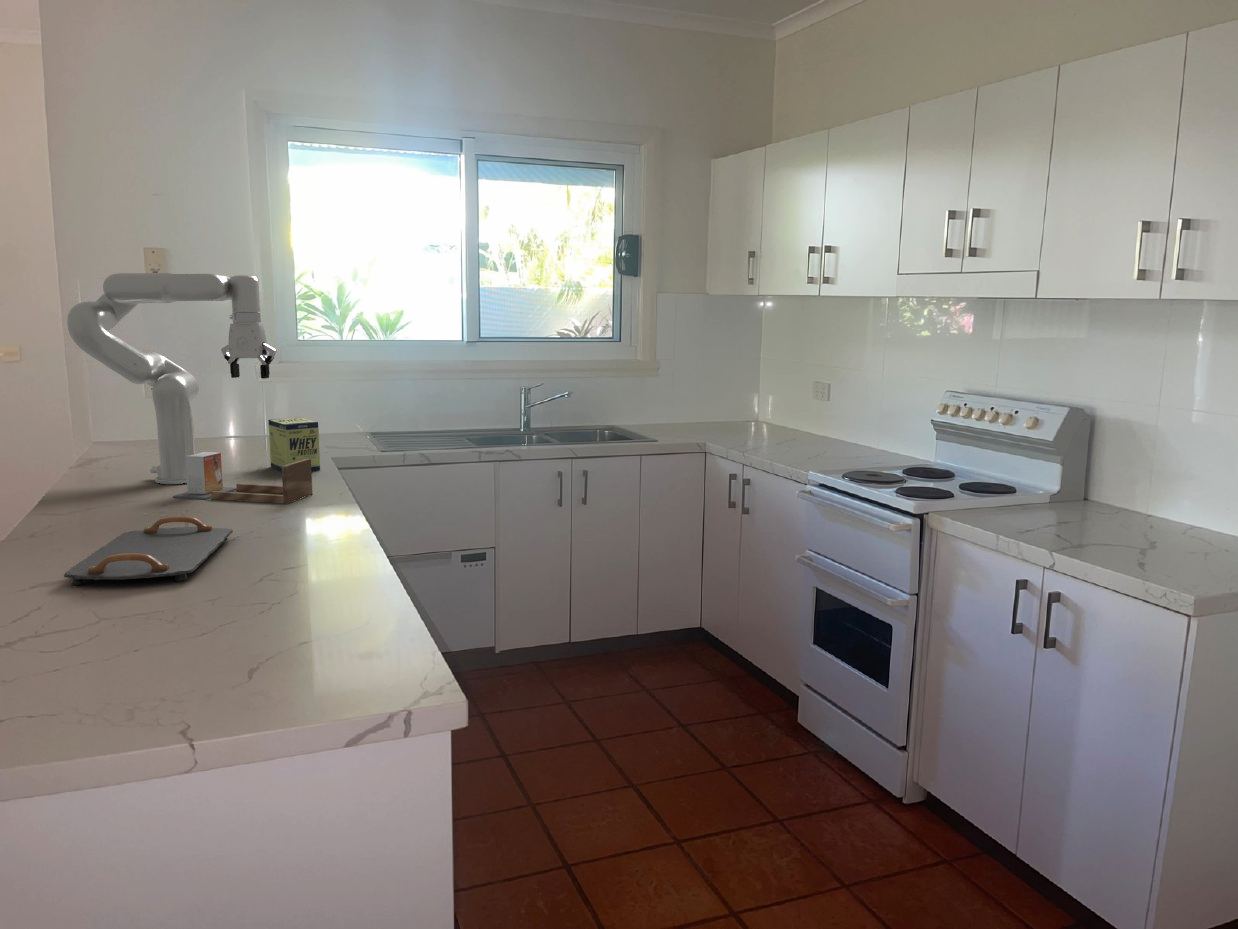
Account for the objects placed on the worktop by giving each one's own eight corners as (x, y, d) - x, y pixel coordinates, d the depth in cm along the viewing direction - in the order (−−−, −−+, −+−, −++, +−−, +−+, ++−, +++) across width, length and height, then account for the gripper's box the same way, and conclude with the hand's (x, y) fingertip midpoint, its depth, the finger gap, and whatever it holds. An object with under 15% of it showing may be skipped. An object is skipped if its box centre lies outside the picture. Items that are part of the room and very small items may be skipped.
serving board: (129, 541, 203) (127, 513, 202) (239, 537, 207) (237, 511, 206) (54, 594, 166) (51, 561, 164) (190, 589, 169) (188, 557, 168)
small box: (205, 495, 248) (202, 456, 246) (187, 493, 249) (184, 455, 247) (223, 489, 255) (221, 452, 254) (206, 488, 256) (203, 451, 255)
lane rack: (211, 499, 245) (208, 462, 243) (239, 490, 257) (237, 455, 255) (287, 503, 240) (285, 466, 239) (312, 494, 252) (310, 458, 251)
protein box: (288, 474, 282) (286, 424, 279) (269, 467, 294) (267, 419, 291) (321, 470, 289) (319, 421, 286) (301, 463, 300) (299, 416, 298)
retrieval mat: (173, 497, 246) (173, 495, 246) (206, 487, 260) (206, 486, 260) (206, 499, 244) (206, 497, 244) (237, 489, 258) (237, 487, 258)
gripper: (212, 318, 263) (216, 378, 266) (266, 319, 259) (269, 379, 262) (228, 318, 270) (231, 376, 273) (281, 319, 267) (284, 377, 270)
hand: (250, 377), depth 268 cm, fingers open, 9 cm apart
